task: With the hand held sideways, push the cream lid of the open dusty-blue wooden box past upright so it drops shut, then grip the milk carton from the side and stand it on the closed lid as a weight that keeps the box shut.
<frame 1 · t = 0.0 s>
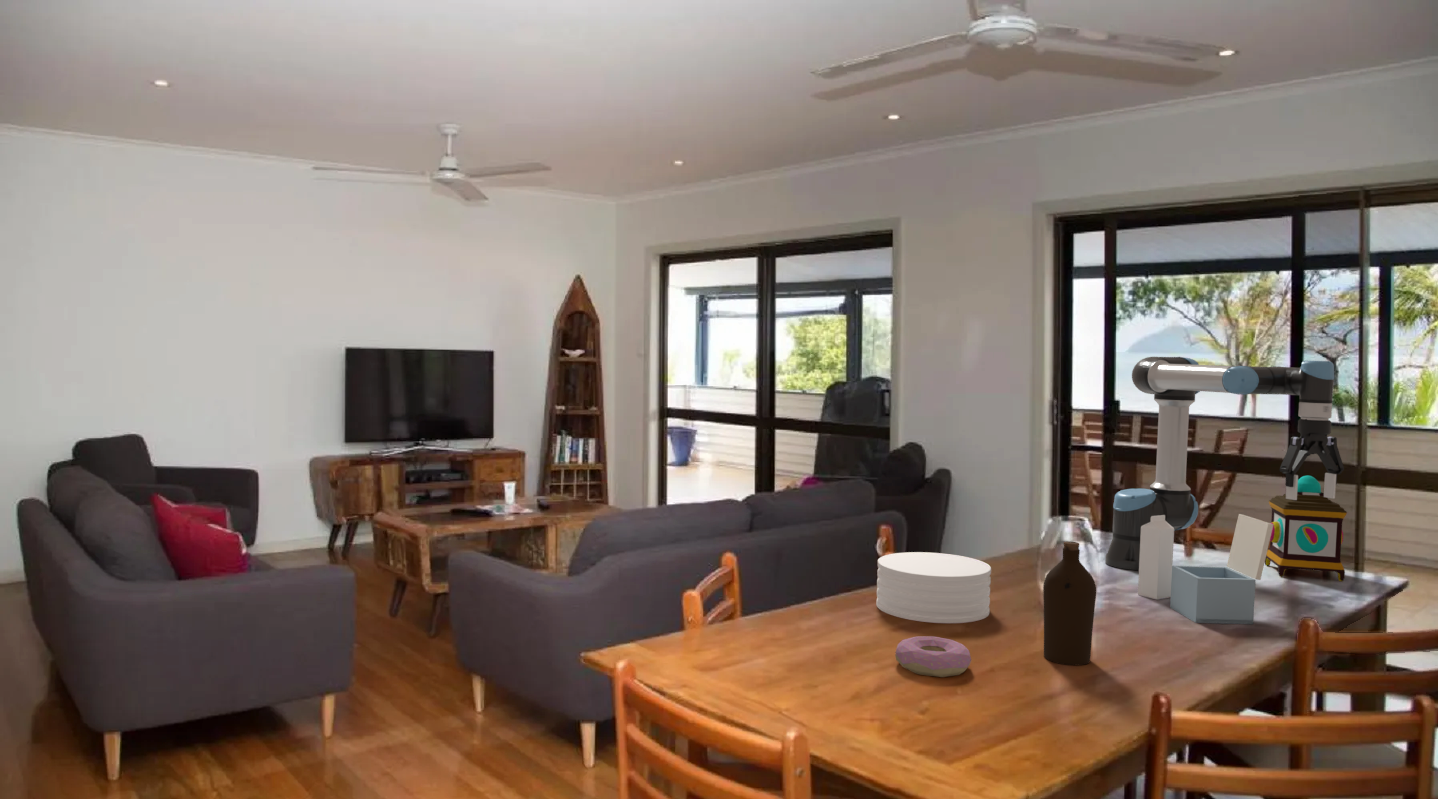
hand: (1310, 498, 262), 28 cm above the table, tool pointing down, fingers open, 13 cm apart
donut: (932, 668, 203), on the table
plate stack: (932, 609, 250), on the table
milk: (1154, 596, 267), on the table
olive oil: (1066, 659, 211), on the table
lid: (1249, 546, 247), point 18 cm above the table, hinge at 100.0°
box: (1210, 615, 248), on the table
decorative lantern: (1302, 574, 300), on the table
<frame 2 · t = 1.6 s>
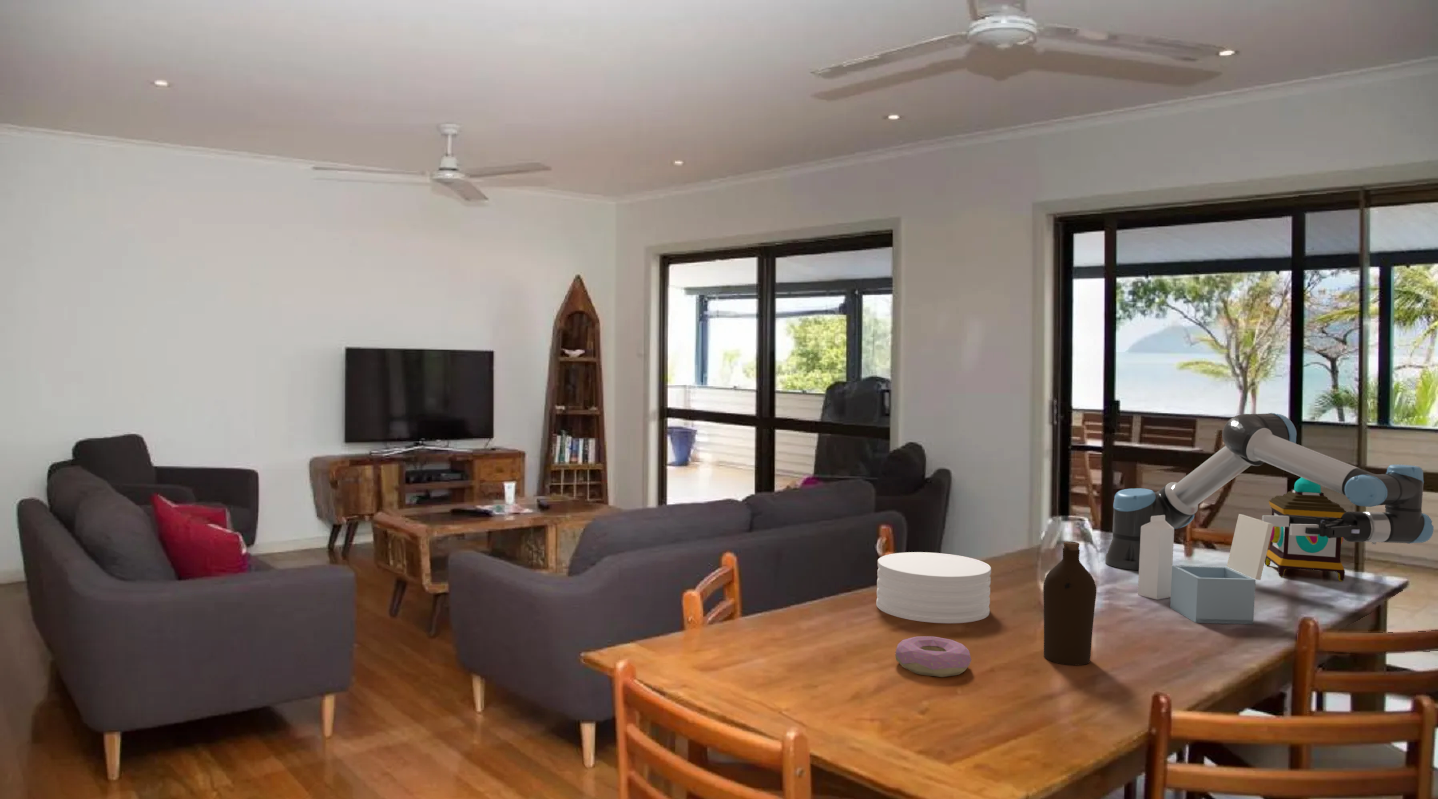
hand: (1276, 525, 247), 23 cm above the table, tool horizontal, fingers open, 12 cm apart
nothing on the table moved.
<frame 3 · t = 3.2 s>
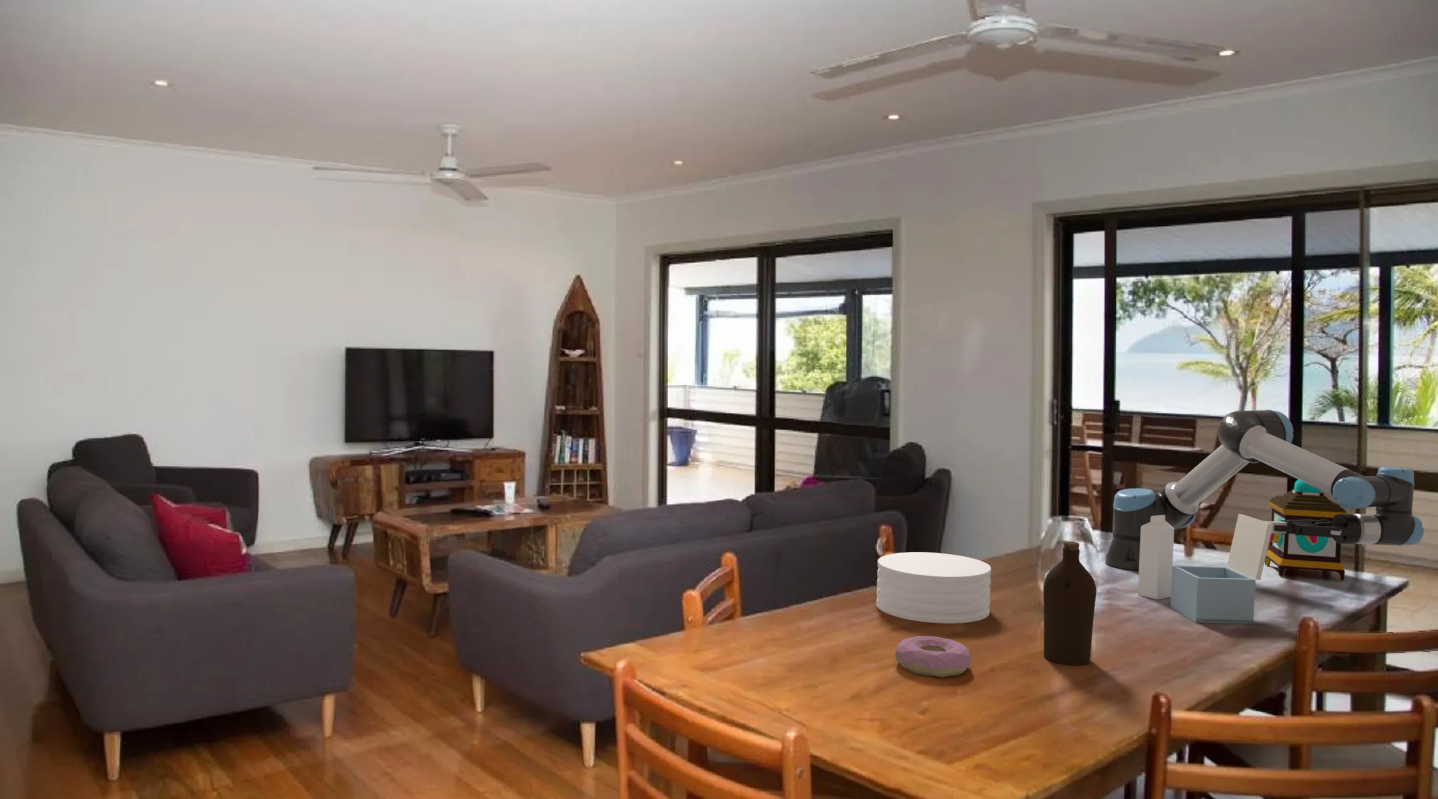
hand: (1259, 526, 246), 23 cm above the table, tool horizontal, fingers closed
lid: (1249, 546, 247), point 18 cm above the table, hinge at 99.7°, touching gripper
everything else where it was.
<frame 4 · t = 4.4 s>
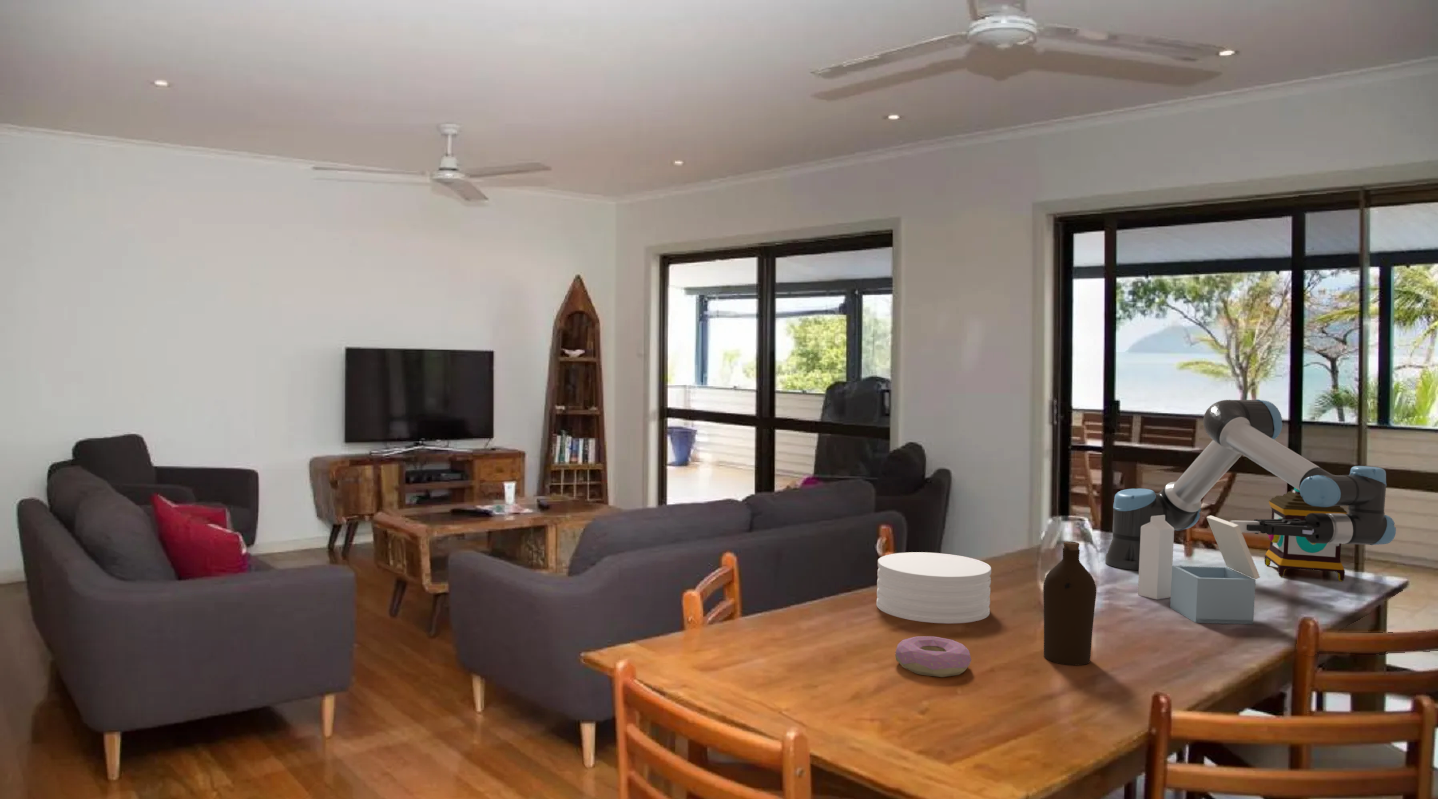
hand: (1231, 526, 246), 23 cm above the table, tool horizontal, fingers closed
lid: (1232, 546, 247), point 18 cm above the table, hinge at 65.2°
everything else where it was.
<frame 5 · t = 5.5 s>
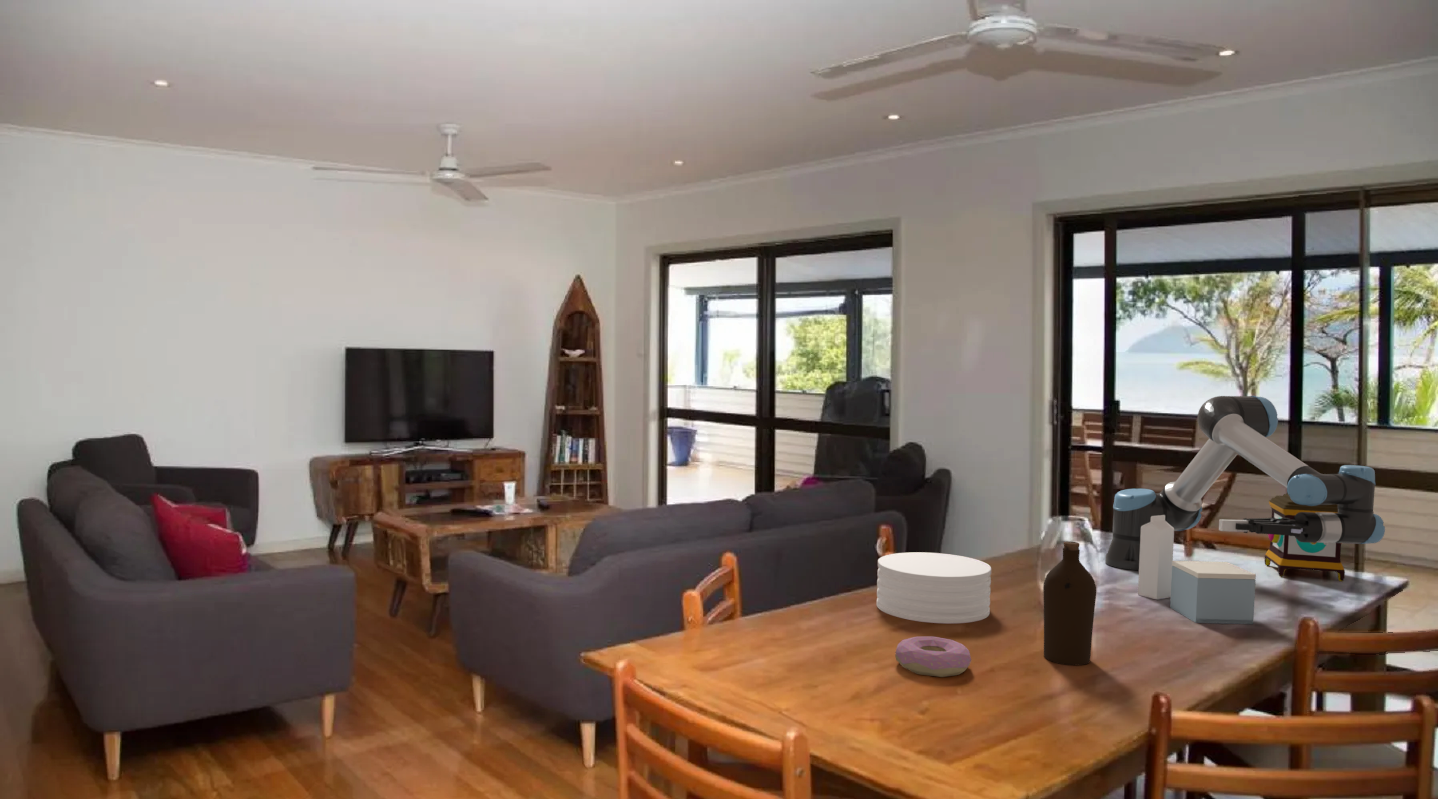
hand: (1220, 525, 247), 23 cm above the table, tool horizontal, fingers closed
lid: (1212, 569, 248), point 12 cm above the table, hinge at -0.1°
everything else where it was.
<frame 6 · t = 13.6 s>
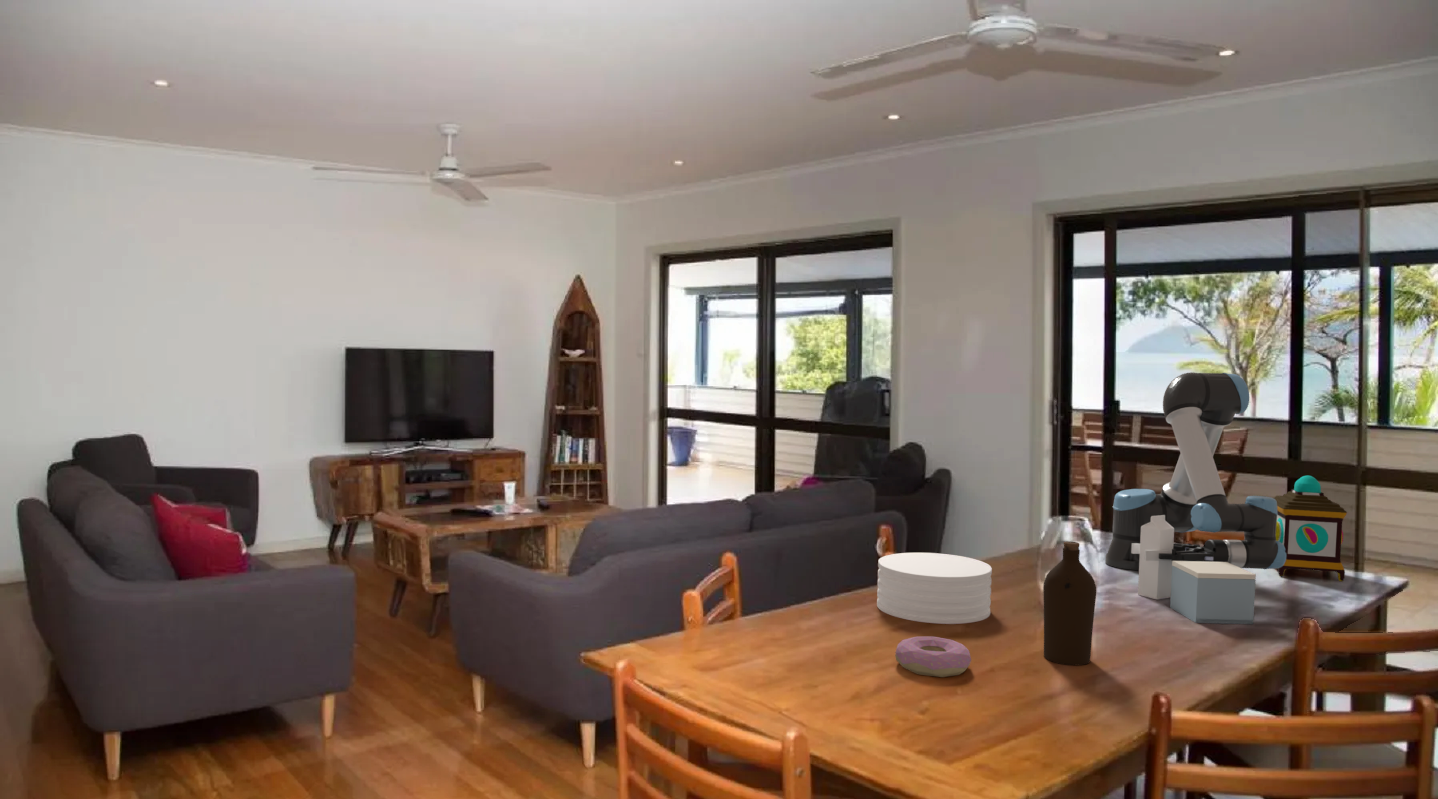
hand: (1138, 551, 267), 12 cm above the table, tool horizontal, fingers closed on milk, 8 cm apart
milk: (1154, 596, 267), on the table, touching gripper
everything else where it was.
when the fingers open (26 cm above the table, at t = 18.0 s): milk drops 1 cm, resting on lid.
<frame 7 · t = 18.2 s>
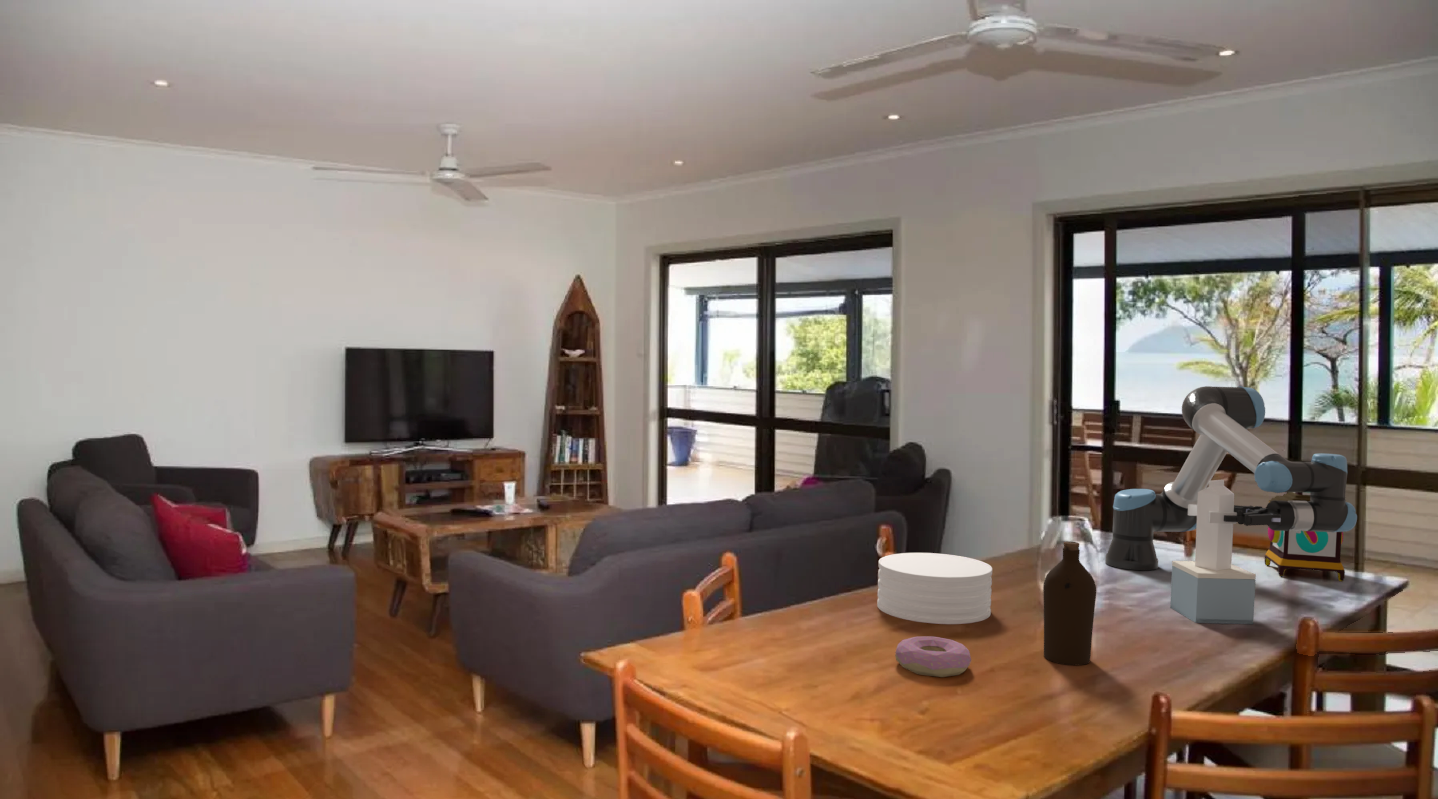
hand: (1198, 513, 247), 26 cm above the table, tool horizontal, fingers open, 10 cm apart
milk: (1212, 568, 248), point 12 cm above the table, touching lid
lid: (1212, 569, 248), point 12 cm above the table, hinge at -0.2°, touching milk
everything else where it was.
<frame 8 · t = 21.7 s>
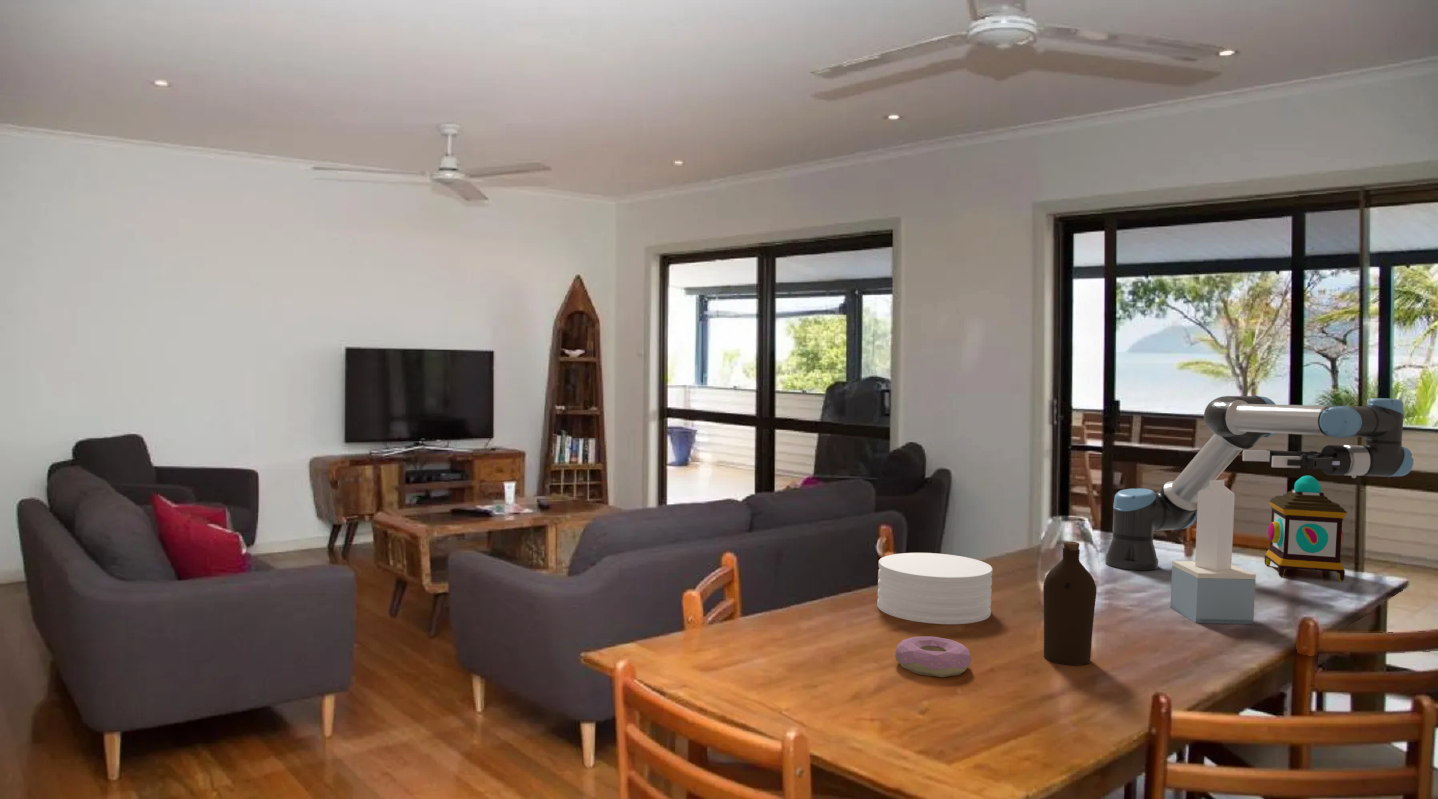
hand: (1257, 458, 246), 40 cm above the table, tool horizontal, fingers open, 13 cm apart
nothing on the table moved.
at the end: lid at +0° (first picture: +100°); milk inside the target area on the box (0.1 cm from its centre), point 12.1 cm above the box's base; milk tilted 0° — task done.
